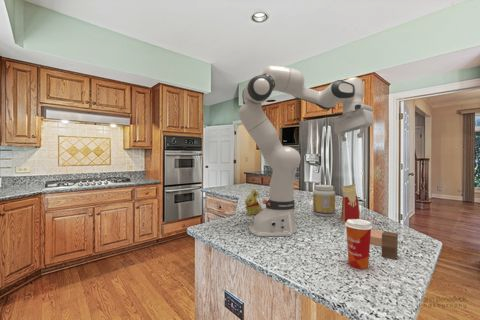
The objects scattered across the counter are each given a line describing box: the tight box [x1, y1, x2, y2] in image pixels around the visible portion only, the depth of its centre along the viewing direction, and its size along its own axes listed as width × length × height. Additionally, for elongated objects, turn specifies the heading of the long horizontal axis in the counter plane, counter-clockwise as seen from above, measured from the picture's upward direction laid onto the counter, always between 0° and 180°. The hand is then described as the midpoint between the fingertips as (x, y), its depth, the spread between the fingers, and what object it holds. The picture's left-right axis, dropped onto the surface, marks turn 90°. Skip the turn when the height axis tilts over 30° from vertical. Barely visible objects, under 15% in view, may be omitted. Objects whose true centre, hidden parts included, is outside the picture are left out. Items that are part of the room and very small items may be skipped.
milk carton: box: [340, 183, 361, 224], centre depth 124 cm, size 9×9×20 cm
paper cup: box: [344, 218, 373, 270], centre depth 75 cm, size 8×8×14 cm
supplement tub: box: [312, 184, 336, 218], centre depth 138 cm, size 12×12×17 cm
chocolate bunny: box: [244, 188, 263, 216], centre depth 138 cm, size 7×11×15 cm, turn 112°
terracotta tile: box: [370, 228, 385, 247], centre depth 96 cm, size 10×10×3 cm
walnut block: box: [381, 230, 399, 261], centre depth 82 cm, size 4×4×8 cm
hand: (351, 139), depth 111 cm, fingers open, 8 cm apart
